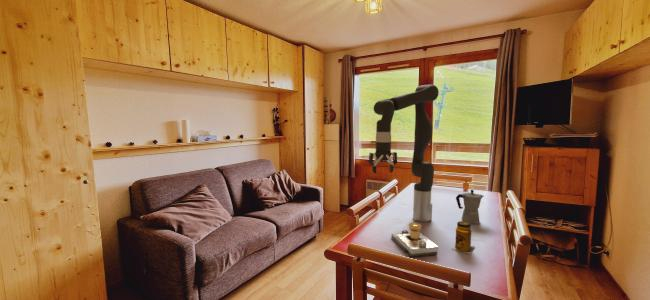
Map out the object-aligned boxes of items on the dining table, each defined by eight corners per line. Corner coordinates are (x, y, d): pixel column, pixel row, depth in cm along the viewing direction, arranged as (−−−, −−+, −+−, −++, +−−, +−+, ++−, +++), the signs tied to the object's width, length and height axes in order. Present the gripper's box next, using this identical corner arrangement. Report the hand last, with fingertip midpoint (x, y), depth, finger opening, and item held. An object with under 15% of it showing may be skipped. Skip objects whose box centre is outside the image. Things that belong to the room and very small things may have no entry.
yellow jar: (452, 249, 120) (453, 223, 119) (457, 242, 127) (458, 217, 125) (470, 254, 116) (471, 227, 114) (474, 247, 122) (476, 221, 121)
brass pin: (416, 243, 127) (417, 222, 125) (422, 248, 121) (423, 226, 120) (406, 244, 126) (407, 223, 125) (411, 249, 121) (412, 227, 119)
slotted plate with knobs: (414, 235, 134) (414, 225, 134) (437, 255, 115) (438, 243, 114) (391, 237, 132) (391, 226, 132) (411, 258, 113) (411, 245, 112)
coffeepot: (477, 217, 158) (478, 187, 155) (487, 224, 148) (489, 191, 146) (450, 218, 157) (452, 187, 155) (459, 224, 148) (461, 192, 146)
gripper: (393, 140, 141) (392, 170, 143) (367, 140, 139) (366, 172, 141) (400, 141, 134) (399, 173, 136) (372, 141, 131) (371, 174, 133)
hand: (382, 172), depth 138 cm, fingers open, 8 cm apart
